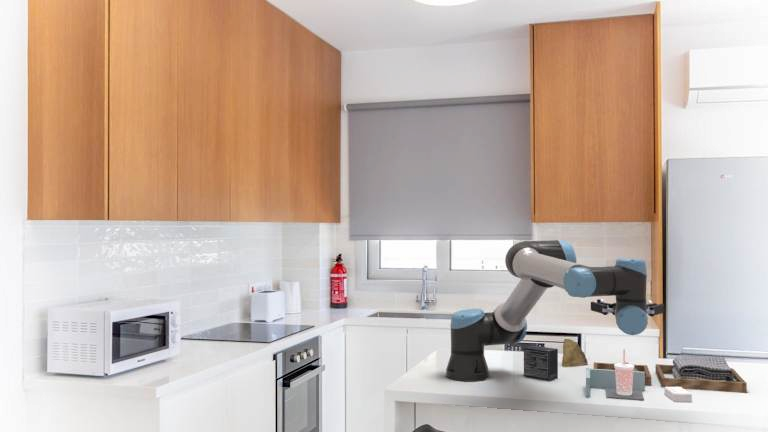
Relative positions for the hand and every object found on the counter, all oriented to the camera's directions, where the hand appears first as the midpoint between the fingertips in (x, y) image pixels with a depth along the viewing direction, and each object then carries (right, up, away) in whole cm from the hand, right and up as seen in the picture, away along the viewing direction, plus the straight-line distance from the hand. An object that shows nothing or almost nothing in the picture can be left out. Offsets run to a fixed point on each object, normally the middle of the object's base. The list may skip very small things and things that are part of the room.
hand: (625, 304), depth 210 cm
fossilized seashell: (+12, -30, +32) cm, 46 cm away
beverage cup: (+3, -30, +9) cm, 31 cm away
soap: (+18, -31, +5) cm, 36 cm away
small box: (-18, -30, +33) cm, 49 cm away
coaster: (+3, -30, +9) cm, 32 cm away
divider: (+1, -30, +11) cm, 32 cm away
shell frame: (+10, -30, +32) cm, 45 cm away
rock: (-1, -30, +53) cm, 61 cm away
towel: (+36, -31, +27) cm, 55 cm away
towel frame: (+34, -30, +26) cm, 52 cm away
